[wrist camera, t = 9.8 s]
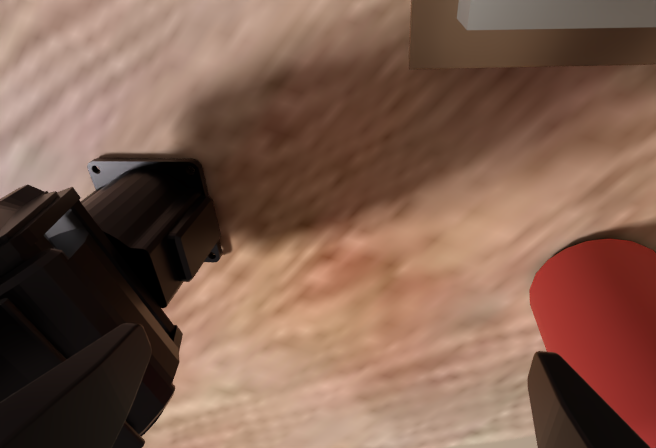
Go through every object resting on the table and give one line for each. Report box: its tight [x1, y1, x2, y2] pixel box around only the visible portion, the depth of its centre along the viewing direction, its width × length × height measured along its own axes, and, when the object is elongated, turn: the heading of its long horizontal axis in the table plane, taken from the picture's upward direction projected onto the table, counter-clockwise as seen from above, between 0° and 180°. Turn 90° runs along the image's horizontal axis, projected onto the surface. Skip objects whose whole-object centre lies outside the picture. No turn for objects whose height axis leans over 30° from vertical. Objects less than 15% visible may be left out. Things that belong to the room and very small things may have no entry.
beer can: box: [530, 238, 656, 448], centre depth 18 cm, size 7×7×12 cm
